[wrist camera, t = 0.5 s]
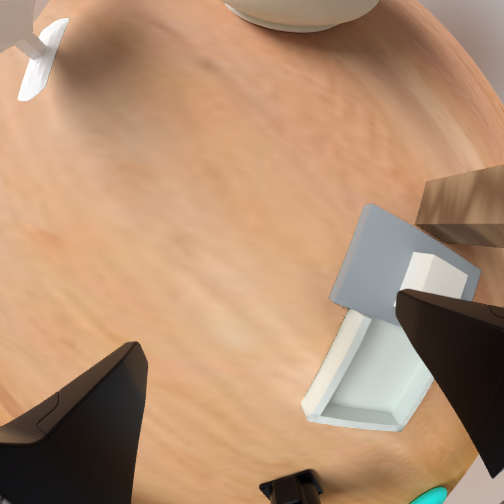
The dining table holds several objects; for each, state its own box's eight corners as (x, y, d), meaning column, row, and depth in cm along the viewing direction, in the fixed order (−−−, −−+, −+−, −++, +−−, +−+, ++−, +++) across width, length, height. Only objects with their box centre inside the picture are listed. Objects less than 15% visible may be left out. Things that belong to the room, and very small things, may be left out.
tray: (389, 417, 24) (401, 431, 21) (300, 402, 23) (307, 420, 20) (434, 336, 24) (450, 346, 21) (349, 306, 23) (364, 316, 20)
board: (445, 340, 24) (453, 345, 22) (328, 298, 23) (334, 302, 21) (472, 268, 23) (481, 270, 22) (364, 205, 22) (371, 203, 21)
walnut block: (444, 242, 23) (567, 254, 8) (415, 224, 23) (550, 224, 8) (454, 202, 23) (571, 193, 8) (426, 181, 22) (551, 155, 7)
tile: (429, 320, 22) (448, 329, 19) (393, 305, 21) (411, 315, 18) (447, 271, 22) (468, 275, 19) (413, 251, 21) (433, 254, 18)
